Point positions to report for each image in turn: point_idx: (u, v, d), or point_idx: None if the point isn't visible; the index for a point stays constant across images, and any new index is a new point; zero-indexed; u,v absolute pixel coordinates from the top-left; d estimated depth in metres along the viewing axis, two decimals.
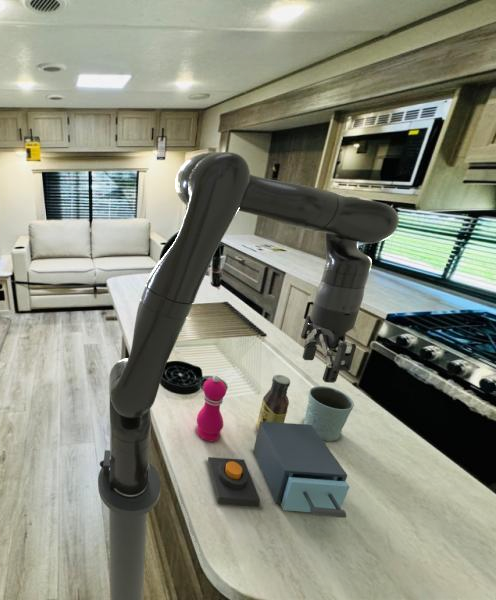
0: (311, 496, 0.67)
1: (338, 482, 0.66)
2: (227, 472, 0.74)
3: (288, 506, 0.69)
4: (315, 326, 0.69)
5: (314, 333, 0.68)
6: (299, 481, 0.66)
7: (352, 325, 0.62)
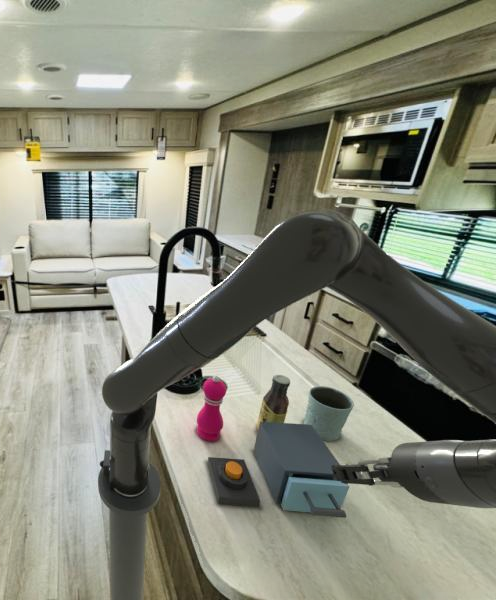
0: (311, 496, 0.67)
1: (338, 482, 0.66)
2: (227, 472, 0.74)
3: (288, 506, 0.69)
4: None
5: None
6: (299, 481, 0.66)
7: (411, 490, 0.43)
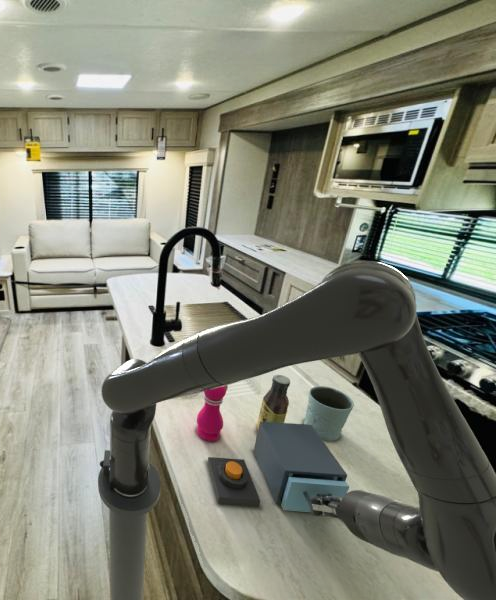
0: (311, 496, 0.67)
1: (338, 482, 0.66)
2: (227, 472, 0.74)
3: (288, 506, 0.69)
4: None
5: None
6: (299, 481, 0.66)
7: (350, 529, 0.52)
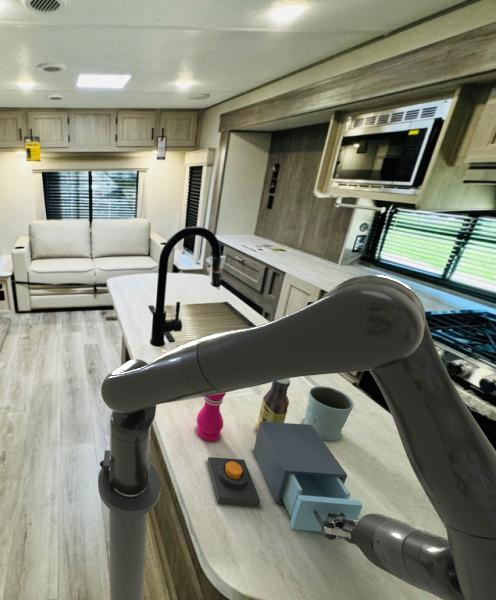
0: (322, 515, 0.63)
1: (350, 501, 0.62)
2: (227, 472, 0.74)
3: (297, 525, 0.65)
4: None
5: None
6: (309, 500, 0.62)
7: (368, 556, 0.48)
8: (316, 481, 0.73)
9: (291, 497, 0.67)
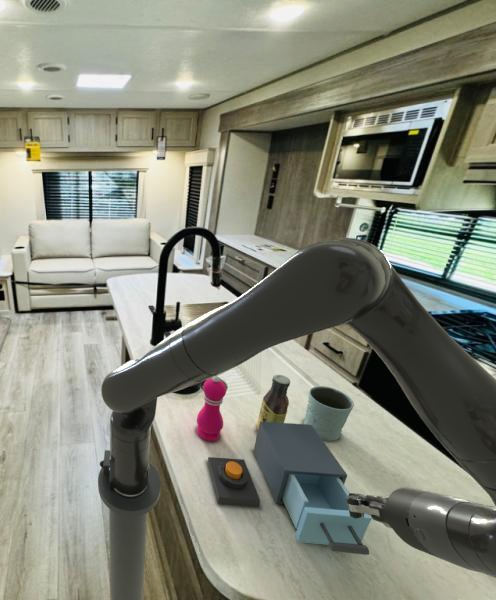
0: (329, 528, 0.61)
1: None
2: (227, 472, 0.74)
3: (303, 538, 0.62)
4: None
5: None
6: (316, 512, 0.60)
7: (401, 535, 0.42)
8: (322, 491, 0.71)
9: (297, 509, 0.65)
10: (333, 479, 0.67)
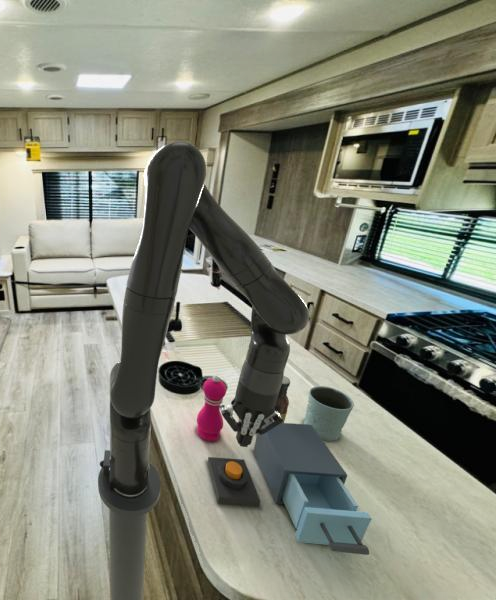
0: (329, 528, 0.61)
1: (359, 513, 0.59)
2: (227, 472, 0.74)
3: (303, 538, 0.62)
4: None
5: None
6: (316, 512, 0.60)
7: (243, 399, 0.64)
8: (322, 491, 0.71)
9: (297, 509, 0.65)
10: (333, 479, 0.67)
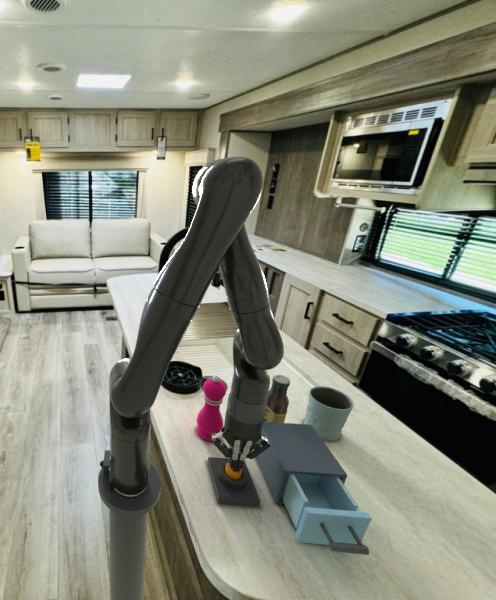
0: (329, 528, 0.61)
1: (359, 513, 0.59)
2: (227, 472, 0.74)
3: (303, 538, 0.62)
4: None
5: None
6: (316, 512, 0.60)
7: (231, 428, 0.68)
8: (322, 491, 0.71)
9: (297, 509, 0.65)
10: (333, 479, 0.67)
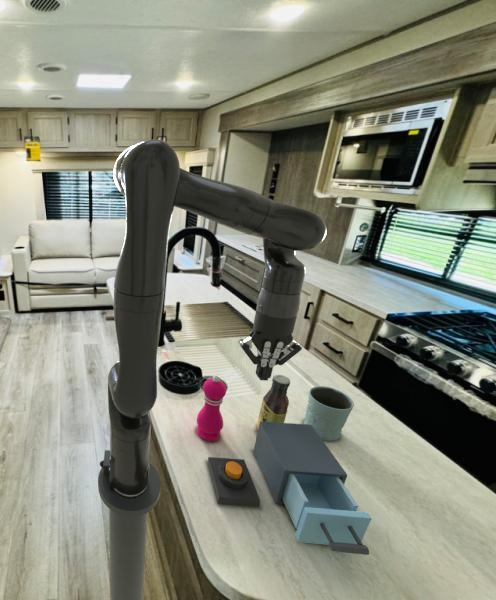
0: (329, 528, 0.61)
1: (359, 513, 0.59)
2: (227, 472, 0.74)
3: (303, 538, 0.62)
4: None
5: None
6: (316, 512, 0.60)
7: (261, 327, 0.65)
8: (322, 491, 0.71)
9: (297, 509, 0.65)
10: (333, 479, 0.67)
